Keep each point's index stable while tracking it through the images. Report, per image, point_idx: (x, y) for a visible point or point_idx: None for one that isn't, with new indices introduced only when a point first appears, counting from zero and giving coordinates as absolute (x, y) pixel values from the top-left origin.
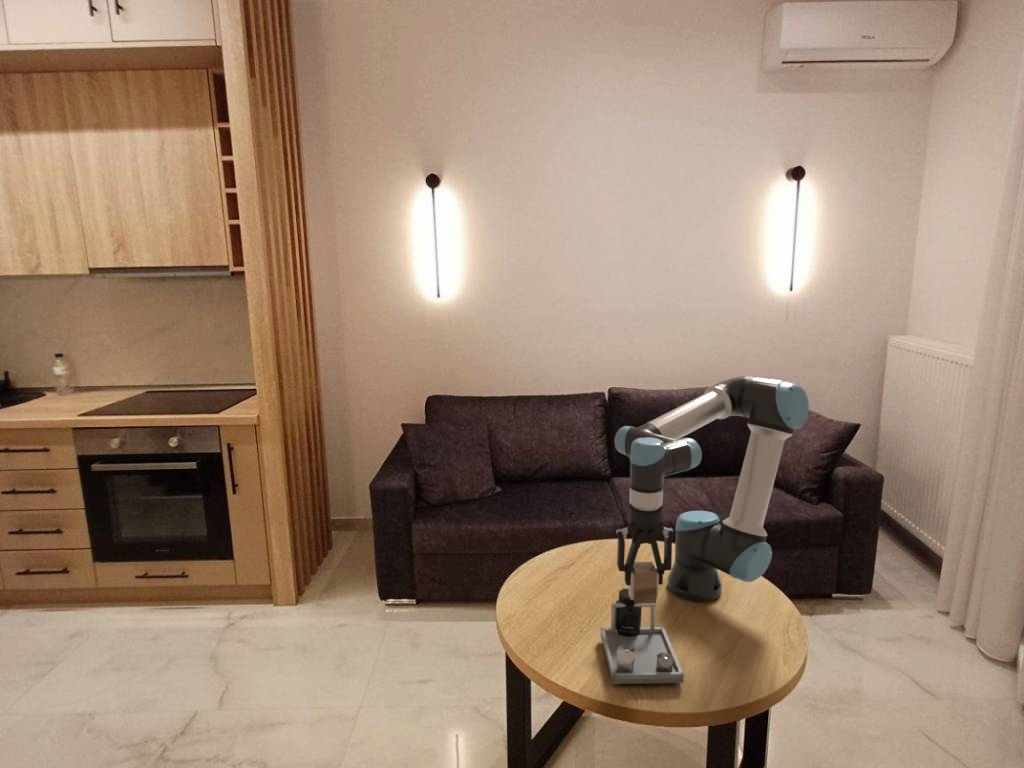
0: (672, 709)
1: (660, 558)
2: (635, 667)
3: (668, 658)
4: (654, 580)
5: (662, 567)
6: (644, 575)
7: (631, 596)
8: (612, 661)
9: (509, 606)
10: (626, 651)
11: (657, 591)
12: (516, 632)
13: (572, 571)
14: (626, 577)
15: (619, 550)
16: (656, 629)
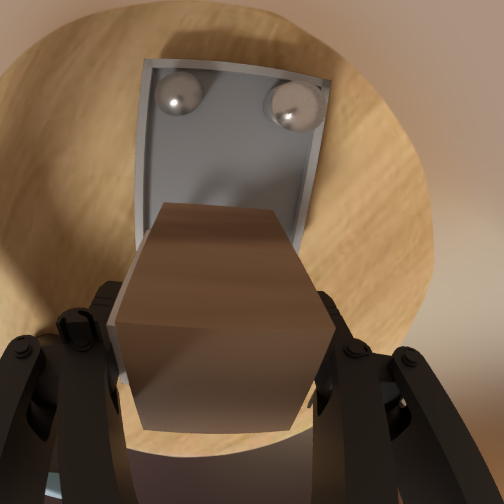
0: (206, 4)
1: (60, 447)
2: (256, 109)
3: (169, 88)
4: (153, 270)
5: (63, 364)
6: (243, 306)
7: None
8: (315, 129)
9: (397, 341)
10: (301, 101)
11: (141, 250)
12: (418, 281)
13: None
14: (342, 323)
15: (490, 473)
16: None
